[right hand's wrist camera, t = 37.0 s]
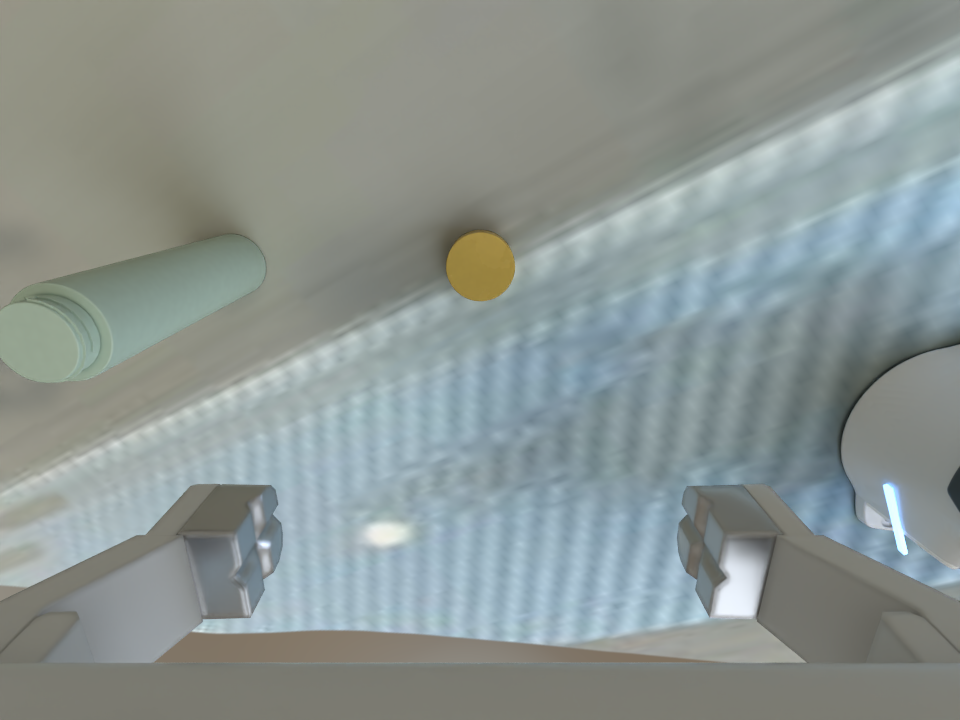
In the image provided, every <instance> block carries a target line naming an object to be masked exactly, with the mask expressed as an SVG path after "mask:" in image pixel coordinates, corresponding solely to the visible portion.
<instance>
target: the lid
mask: <svg viewBox="0 0 960 720" xmlns="http://www.w3.org/2000/svg"><path fill="white" fill-rule="evenodd" d="M446 272H447V276H448V279H449V282H450V284H451V285H452V287H453V288H454V289H455V290H456V291H457V292H458V293H459V294H460V295H462V296H463V297H465V298H467V299H470V300H474V301H487V300H491V299H494V298H496V297H498V296H499V295H501V294H502V293H503V292H504V291H505V290H506V289H507V288H508V287H509V285H510V284H511V282H512V279H513V276H514V272H515V261H514V257H513V254H512V251H511V249H510V247H509V245H508V244H507V242H506V241H505V240H504V239H503V238H502V237H500V236H499V235H497V234H495V233H493V232H490V231H486V230H474V231H470V232H468V233H466V234H464V235H462V236H461V237H459V238H458V239H457V240H456V241H455V243H454V244H453V245H452V247H451V249H450V251H449V254H448V257H447V262H446Z"/></svg>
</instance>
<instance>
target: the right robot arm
mask: <svg viewBox="0 0 960 720" xmlns="http://www.w3.org/2000/svg"><path fill="white" fill-rule="evenodd" d="M841 458H842V463H843V467H844V470H845V472H846V475H847V476H848V478H849V480H850V482H851V483H852V485H853V487H854V490H855V493H856V498H855V510H856V515H857V518H858V519H859V520H860V521H862V522H863V523H864V524H866V525H867V526H869V527H871V528H876V529H883V530H890V531H894V534H895V538H896V542H897V547H898V550H899V551H900V552H901V553H902V554H903V555H906V554H908V552H907V548H906V543H905V539H904V535H906V536H907V537H908V538H910V539H911V540H912V541H914V542H915V543H916V544H917V545H919V546H920V547H921V548H923V549H924V550H925V551H927V552H928V553H929V554H931V555H932V556H933V557H934V558H936V559H937V560H938V561H940V562H941V563H943V564H944V565H946V566H947V567H950V568H952V569H957V568H960V344H959V345H955V346H951V347H946V348H942V349H937V350H933V351H929V352H926V353H923V354H920V355H918V356H915V357H913V358H910V359H908V360H906V361H904V362H903V363H901V364H899V365H897V366H896V367H894V368H892V369H891V370H890V371H888V372H887V373H885V374H884V375H883V376H881V377H880V378H879V379H878V380H877V381H876V382H875V383H874V384H873V385H872V386H870V387H869V389H868V390H867V391H866V392H865V393H864V394H863V395H862V397H861V398H860V399H859V401H858V402H857V403H856V405H855V407H854V408H853V410H852V412H851V414H850V416H849V418H848V420H847V422H846V425H845V428H844V431H843V435H842V441H841ZM277 505H278V500H277V495H276V490H275V489H274V488H273V487H272V486H271V485H233V484H222V485H220V484H196V485H193V486H190V487H189V488H188V489H187V490H186V492H185V493H184V494H183V495H182V496H181V497H180V498H179V499H178V500H177V501H176V502H175V504H174V505H173V506H172V507H171V508H170V509H169V510H168V511H167V512H166V513H165V514H164V515H163V517H162V518H161V519H160V520H159V521H158V522H157V523H156V524H155V525H154V526H153V527H152V529H151V530H150V531H149V532H148V533H147V534H146V535H137V536H134V537H132V538H130V539H128V540H126V541H124V542H122V543H120V544H118V545H116V546H114V547H112V548H110V549H108V550H105V551H103V552H101V553H99V554H97V555H95V556H93V557H91V558H89V559H87V560H85V561H83V562H81V563H78V564H76V565H74V566H72V567H70V568H68V569H66V570H64V571H62V572H60V573H58V574H56V575H54V576H51V577H49V578H47V579H45V580H43V581H41V582H39V583H37V584H35V585H33V586H31V587H29V588H27V589H25V590H22V591H20V592H18V593H16V594H14V595H12V596H10V597H8V598H6V599H4V600H2V601H0V720H960V601H958V600H956V599H954V598H952V597H950V596H948V595H946V594H943V593H941V592H939V591H937V590H935V589H933V588H931V587H929V586H927V585H925V584H923V583H921V582H919V581H917V580H914V579H912V578H910V577H908V576H906V575H904V574H902V573H900V572H898V571H896V570H894V569H892V568H890V567H888V566H886V565H883V564H881V563H879V562H877V561H875V560H873V559H871V558H869V557H867V556H865V555H863V554H861V553H859V552H857V551H854V550H852V549H850V548H848V547H846V546H844V545H842V544H840V543H838V542H836V541H834V540H832V539H830V538H828V537H826V536H823V535H814V534H813V533H812V532H811V531H810V530H809V529H808V527H807V526H806V525H805V524H804V523H803V522H802V521H801V520H800V519H799V518H798V517H797V515H796V514H795V513H794V512H793V511H792V510H791V509H790V508H789V507H788V506H787V505H786V503H785V502H784V501H783V500H782V499H781V498H780V497H779V496H778V495H777V494H776V493H775V492H774V490H773V489H772V488H771V487H770V486H767V485H765V484H743V485H714V486H687V487H686V489H685V491H684V494H683V500H682V505H683V507H684V509H685V511H686V512H687V515H686V516H685V517H684V518H683V519H682V520H681V521H680V522H679V526H678V534H677V542H678V552H679V556H680V559H681V562H682V564H683V566H684V569H685V571H686V572H687V573H688V574H690V575H691V576H692V577H694V578H695V579H697V583H696V589H695V590H696V592H697V594H698V596H699V598H700V600H701V602H702V604H703V606H704V608H705V610H706V611H707V613H708V615H709V617H710V618H733V619H758V620H757V622H759V623H760V624H761V625H762V626H763V627H765V628H766V629H767V630H768V631H769V632H771V633H772V634H773V635H774V636H776V637H777V638H778V639H779V640H780V641H782V642H783V643H784V644H785V645H786V646H788V647H789V648H790V649H791V650H793V651H794V652H795V653H796V654H797V655H799V656H800V657H801V658H802V659H803V660H805V661H806V662H807V663H153V662H154V661H155V660H157V659H158V658H159V657H160V656H162V655H163V654H164V653H165V652H166V651H168V650H169V649H170V648H171V647H173V646H174V645H175V644H176V643H177V642H179V641H180V640H181V639H182V638H183V637H185V636H186V635H187V634H188V633H190V632H191V631H192V630H193V629H194V628H196V627H197V626H198V625H199V624H201V623H202V622H203V620H202V619H226V618H250V617H251V615H252V613H253V612H254V610H255V608H256V606H257V604H258V602H259V600H260V598H261V596H262V594H263V592H264V590H265V589H264V583H263V579H265V578H266V577H268V576H269V575H270V574H272V573H273V572H274V571H275V568H276V566H277V564H278V562H279V559H280V555H281V550H282V545H283V532H282V525H281V522H280V521H279V520H278V519H277V518H276V517H275V516H274V515H273V512H274V511H275V509H276V507H277ZM903 534H904V535H903Z"/></svg>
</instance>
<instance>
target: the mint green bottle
mask: <svg viewBox="0 0 960 720" xmlns="http://www.w3.org/2000/svg"><path fill="white" fill-rule="evenodd" d="M265 274H266V264H265V260H264V257H263V254H262V253H261V251H260V250H259V248H258V247H257V246H256V245H255V244H254V243H253V242H252V241H250V240H249V239H247V238H245V237H243V236H240V235H236V234H225V235H221V236H217V237H214V238H210V239H206V240H202V241H198V242H194V243H190V244H187V245H183V246H179V247H175V248H171V249H167V250H164V251H160V252H156V253H152V254H148V255H144V256H140V257H137V258H133V259H129V260H125V261H121V262H117V263H113V264H110V265H106V266H102V267H98V268H94V269H90V270H87V271H83V272H79V273H75V274H71V275H67V276H63V277H60V278H56V279H52V280H48V281H44V282H40V283H36V284H33V285H30V286H28V287H26V288H24V289H22V290H21V291H19V292H18V293H17V294H16V295H15V297H14V298H13V299H12V301H11V303H10V304H9V305H7V306H5V307H3V308H2V309H1V310H0V358H1V359H2V360H3V362H4V363H5V364H6V365H7V366H8V367H9V368H11V369H12V370H13V371H15V372H16V373H17V374H19V375H21V376H23V377H25V378H27V379H30V380H33V381H37V382H43V383H55V382H64V381H83V380H87V379H91V378H93V377H95V376H97V375H99V374H101V373H103V372H105V371H106V370H108V369H110V368H112V367H114V366H116V365H117V364H119V363H121V362H123V361H125V360H127V359H129V358H130V357H132V356H134V355H136V354H138V353H140V352H141V351H143V350H145V349H147V348H149V347H151V346H153V345H154V344H156V343H158V342H160V341H162V340H164V339H166V338H167V337H169V336H171V335H173V334H175V333H177V332H178V331H180V330H182V329H184V328H186V327H188V326H190V325H191V324H193V323H195V322H197V321H199V320H201V319H203V318H204V317H206V316H208V315H210V314H212V313H214V312H215V311H217V310H219V309H221V308H223V307H225V306H227V305H228V304H230V303H232V302H234V301H236V300H238V299H239V298H241V297H243V296H245V295H247V294H249V293H251V292H252V291H254V290H256V289H257V288H258V287H259V286H260V285H261V284H262V282H263V280H264V278H265Z"/></svg>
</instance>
